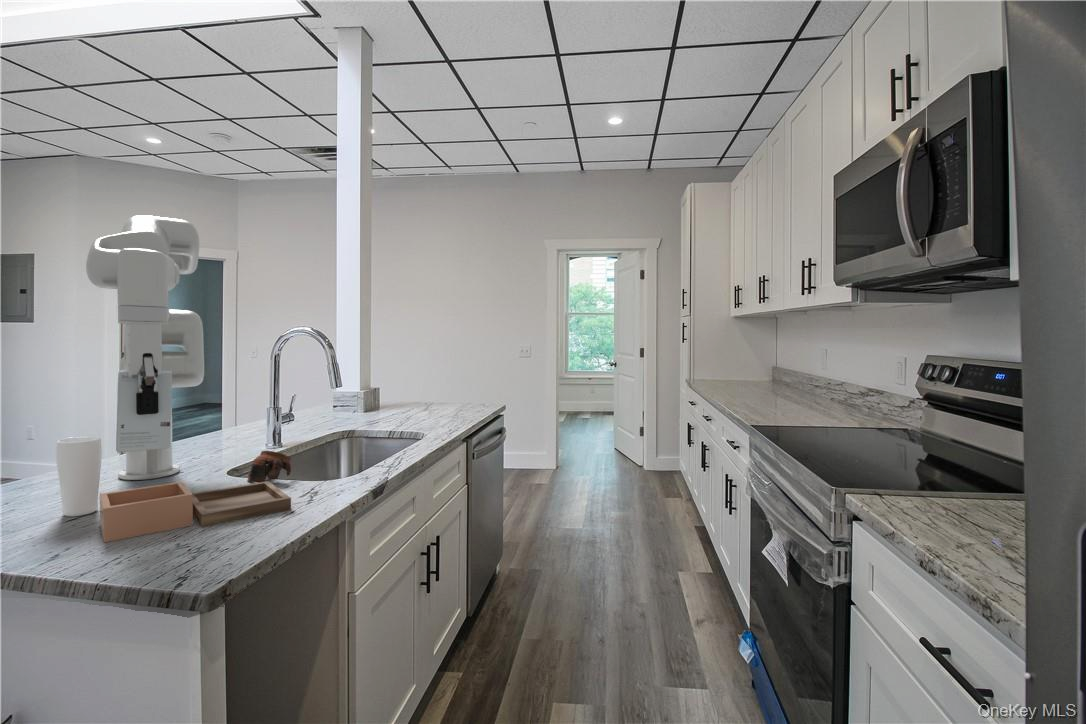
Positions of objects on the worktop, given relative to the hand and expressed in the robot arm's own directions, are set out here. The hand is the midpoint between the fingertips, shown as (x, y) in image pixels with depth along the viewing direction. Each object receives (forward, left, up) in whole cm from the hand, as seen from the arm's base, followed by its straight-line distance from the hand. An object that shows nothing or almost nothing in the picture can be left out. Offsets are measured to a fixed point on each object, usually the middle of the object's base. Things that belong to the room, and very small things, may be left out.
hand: (145, 410), depth 98 cm
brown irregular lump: (-18, +27, -22) cm, 39 cm away
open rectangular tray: (0, 0, -22) cm, 22 cm away
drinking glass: (-16, -9, -22) cm, 29 cm away
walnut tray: (0, +15, -22) cm, 27 cm away
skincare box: (0, 0, -7) cm, 7 cm away
